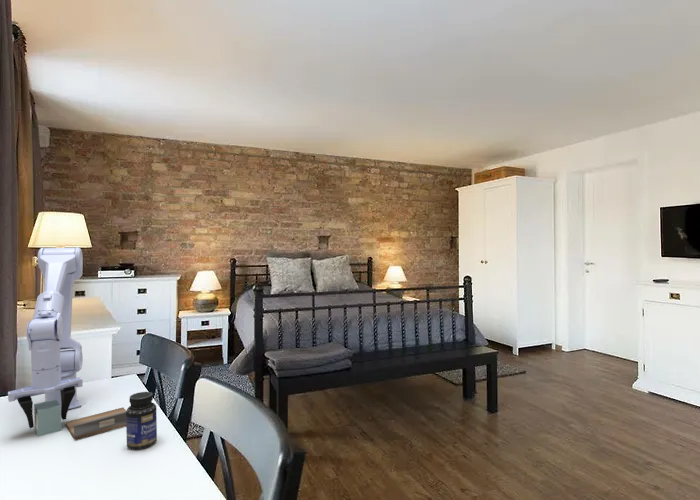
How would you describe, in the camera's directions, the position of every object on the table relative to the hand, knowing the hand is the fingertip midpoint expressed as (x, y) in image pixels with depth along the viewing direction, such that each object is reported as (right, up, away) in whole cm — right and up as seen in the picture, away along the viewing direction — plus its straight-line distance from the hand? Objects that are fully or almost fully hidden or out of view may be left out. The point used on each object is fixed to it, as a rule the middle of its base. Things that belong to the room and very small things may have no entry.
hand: (47, 422), depth 102 cm
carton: (0, -2, 0) cm, 2 cm away
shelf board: (+11, -1, +3) cm, 12 cm away
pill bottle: (+27, -2, -8) cm, 28 cm away
